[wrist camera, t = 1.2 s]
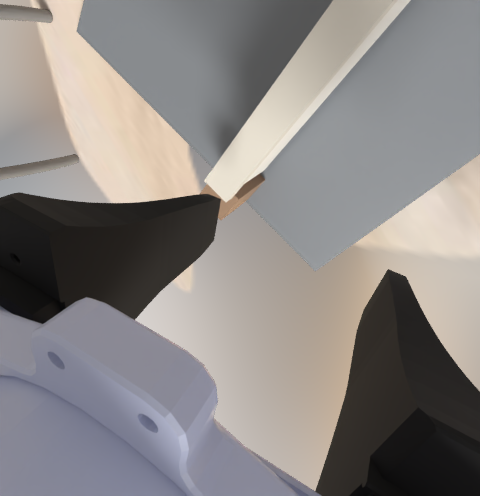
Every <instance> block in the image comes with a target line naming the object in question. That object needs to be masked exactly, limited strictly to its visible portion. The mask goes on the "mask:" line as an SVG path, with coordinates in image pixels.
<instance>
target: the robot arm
mask: <svg viewBox="0 0 480 496" xmlns="http://www.w3.org/2000/svg"><path fill="white" fill-rule="evenodd" d="M220 203H221V199H219V198H217V197H215V196H212V195H210V194H199V195H192V196H185V197H179V198H172V199H166V200H157V201H149V202H139V203H87V202H76V201H67V200H59V199H52V198H46V197H40V196H35V195H29V194H24V193H14V194H10V195H7V196H5V197H1V198H0V496H480V392H479V391H478V389H477V388H476V387H475V386H474V385H473V384H472V382H470V380H469V379H468V378H467V377H466V376H465V374H464V373H463V372H462V371H461V369H460V368H459V367H458V366H457V364H456V363H455V362H454V360H453V359H452V357H451V356H450V355H449V353H448V352H447V351H446V349H445V348H444V346H443V345H442V343H441V342H440V340H439V339H438V337H437V336H436V334H435V332H434V331H433V329H432V327H431V326H430V324H429V322H428V321H427V319H426V317H425V315H424V313H423V311H422V309H421V308H420V305H419V303H418V301H417V299H416V297H415V295H414V293H413V291H412V289H411V286H410V284H409V282H408V280H407V278H406V277H405V276H403V275H400V274H398V273H395V272H393V271H391V270H389V269H388V270H387V272H386V274H385V275H384V277H383V279H382V280H381V282H380V284H379V285H378V287H377V289H376V290H375V292H374V294H373V295H372V297H371V299H370V300H369V302H368V304H367V305H366V307H365V309H364V311H363V314H362V317H361V320H360V323H359V326H358V330H357V334H356V339H355V345H354V350H353V356H352V363H351V369H350V375H349V381H348V386H347V390H346V395H345V399H344V402H343V405H342V409H341V412H340V416H339V419H338V422H337V426H336V429H335V432H334V436H333V439H332V442H331V445H330V448H329V451H328V455H327V458H326V461H325V464H324V467H323V470H322V473H321V476H320V479H319V482H318V485H317V488H316V491H314V490H312V489H310V488H309V487H307V486H306V485H304V484H303V483H301V482H300V481H298V480H296V479H295V478H293V477H292V476H290V475H289V474H287V473H286V472H284V471H282V470H281V469H279V468H278V467H276V466H275V465H273V464H272V463H270V462H268V461H267V460H265V459H264V458H262V457H260V456H259V455H258V454H256V453H254V452H253V451H251V450H250V449H248V448H247V447H245V446H244V445H243V444H242V443H241V442H240V441H238V440H237V439H236V438H235V437H234V436H233V435H232V434H231V433H230V432H229V431H227V430H226V429H225V428H224V427H223V426H222V425H221V424H220V423H219V422H217V421H216V420H215V419H214V413H215V410H216V407H217V403H218V398H217V389H216V384H215V381H214V380H213V378H212V377H211V375H210V374H209V372H208V370H207V369H206V368H205V366H204V364H202V363H201V362H200V361H199V360H198V359H196V358H195V357H194V356H193V355H191V354H190V353H189V352H188V351H186V350H185V349H183V348H181V347H180V346H178V345H176V344H175V343H173V342H171V341H169V340H168V339H166V338H164V337H162V336H161V335H159V334H157V333H156V332H154V331H152V330H151V329H149V328H147V327H146V326H144V325H142V324H140V323H138V322H137V321H135V319H136V318H137V317H138V316H139V314H140V313H141V312H142V311H143V310H144V309H145V307H146V306H147V305H148V304H149V303H150V302H151V301H152V300H153V299H154V298H155V297H156V295H157V294H158V293H159V292H160V291H161V290H162V289H163V288H165V287H166V286H167V285H168V284H169V283H170V282H171V281H173V280H174V279H175V278H176V277H177V276H178V275H180V274H181V273H182V272H183V271H184V270H185V269H187V268H188V267H189V266H190V265H191V264H192V263H193V262H195V261H196V260H197V259H198V258H199V257H200V256H201V255H202V254H203V253H204V252H205V250H206V249H207V248H208V247H209V245H210V244H211V243H212V242H213V240H214V236H215V231H216V225H217V219H218V214H219V209H220Z"/></svg>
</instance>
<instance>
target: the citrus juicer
mask: <svg viewBox="0 0 480 496" xmlns="http://www.w3.org/2000/svg"><path fill="white" fill-rule="evenodd" d="M0 20H18V21H35V22H46V23H51V22H52V15H51V12H50V11H49V10H44V9H38V8H31V7H23V6H14V5H3V4H0ZM78 162H79V158H78V156H77V155H75V154H73V155H70V156H65V157H60V158H55V159H50V160H45V161H39V162H33V163H28V164H22V165H16V166H9V167H3V168H0V180H3V179H9V178H15V177H20V176H25V175H30V174H35V173H41V172H45V171H50V170H53V169H58V168H61V167H66V166H69V165H72V164H75V163H78Z"/></svg>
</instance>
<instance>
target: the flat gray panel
mask: <svg viewBox="0 0 480 496" xmlns="http://www.w3.org/2000/svg"><path fill="white" fill-rule="evenodd" d="M332 1H333V0H84V3H83V7H82V11H81V15H80V19H79V23H78V28H77V32H78V33H79V34H80V35H81V36H82V37H83V38H84V39H85V40H86V41H87V42H88V43H89V44H90V45H91V46H92V47H93V48H94V49H95V50H96V51H97V52H98V53H99V54H100V55H101V56H102V57H103V58H104V59H105V60H106V61H107V62H108V63H109V64H110V65H111V66H112V67H113V68H114V69H115V70H116V71H117V73H118V74H119V75H120V76H121V77H122V78H123V79H124V80H125V81H126V82H127V83H128V84H129V85H130V86H131V87H132V88H133V89H134V90H135V91H136V92H137V93H138V94H139V95H140V96H141V97H142V98H143V99H144V100H145V101H146V102H147V103H148V104H149V105H150V106H151V107H152V108H153V109H154V110H155V111H156V112H157V113H158V114H159V115H160V116H161V117H162V118H163V119H164V120H165V121H166V122H167V123H168V124H169V125H170V126H171V127H172V128H173V129H174V130H175V131H176V132H177V133H178V134H179V135H180V136H181V137H182V138H183V139H184V140H185V141H186V142H187V143H188V144H189V145H190V146H191V147H192V148H193V149H194V150H195V151H196V152H197V153H198V154H199V155H200V156H201V157H202V158H203V159H204V160H205V161H206V162H207V163H208V164H209V165H210V166H211V167H212V168H214V166H215V165H216V164H217V162H218V161H219V159H220V158H221V157H222V155H223V154H224V152H225V151H226V150H227V148H228V147H229V145H230V144H231V143H232V141H233V140H234V138H235V137H236V136H237V134H238V133H239V131H240V130H241V129H242V127H243V126H244V124H245V123H246V122H247V120H248V119H249V117H250V116H251V115H252V113H253V112H254V110H255V109H256V108H257V106H258V105H259V103H260V102H261V101H262V99H263V98H264V96H265V95H266V94H267V92H268V91H269V89H270V88H271V87H272V85H273V84H274V82H275V81H276V80H277V78H278V77H279V75H280V74H281V73H282V71H283V70H284V68H285V67H286V66H287V64H288V63H289V61H290V60H291V59H292V57H293V56H294V54H295V53H296V52H297V50H298V49H299V47H300V46H301V45H302V43H303V42H304V40H305V39H306V38H307V36H308V35H309V33H310V32H311V31H312V29H313V28H314V26H315V25H316V24H317V22H318V21H319V19H320V18H321V17H322V15H323V14H324V12H325V11H326V10H327V8H328V7H329V5H330V4H331V3H332ZM479 154H480V0H411V1H410V2H409V3H408V4H407V5H406V6H405V8H404V9H403V10H402V11H401V12H400V13H399V15H398V16H397V17H396V18H395V19H394V20H393V22H392V23H391V24H390V25H389V26H388V27H387V29H386V30H385V31H384V32H383V33H382V34H381V35H380V37H379V38H378V39H377V40H376V41H375V42H374V44H373V45H372V46H371V47H370V48H369V49H368V51H367V52H366V53H365V54H364V55H363V56H362V58H361V59H360V60H359V61H358V62H357V63H356V65H355V66H354V67H353V68H352V69H351V70H350V71H349V73H348V74H347V75H346V76H345V77H344V78H343V80H342V81H341V82H340V83H339V84H338V85H337V87H336V88H335V89H334V90H333V91H332V92H331V94H330V95H329V96H328V97H327V98H326V99H325V100H324V102H323V103H322V104H321V105H320V106H319V107H318V109H317V110H316V111H315V112H314V113H313V114H312V116H311V117H310V118H309V119H308V120H307V121H306V123H305V124H304V125H303V126H302V127H301V128H300V129H299V131H298V132H297V133H296V134H295V135H294V136H293V138H292V139H291V140H290V141H289V142H288V143H287V145H286V146H285V147H284V148H283V149H282V150H281V152H280V153H279V154H278V155H277V156H276V157H275V158H274V160H273V161H272V162H271V163H270V164H269V165H268V167H267V168H266V169H265V170H264V171H263V172H261V173H260V174H258V175H257V176H255V177H254V178H252V179H251V180H249V181H248V182H246V183H245V184H244V185H243V186H242V187H241V188H240V189H239V191H238V192H237V193H236V194H235V195H234V197H233V198H232V199H230V200H229V201H227V202H225V201H224V200H223V199H222V198H221V197H220V196H219V195H218V194H217V193H216V192H215V191H214V190H213V189H212V188H211V187H210V186H209V185H208V184H207V185H206V187H205V188H204V189H203V190H202V192H201V193H200V194H210V195H212V196H215V197H217V198H219V199H221V203H220V209H219V214H218V218H219V219H220V220H222V219H223V218H225V217H226V216H227V215H228V214H230V213H231V212H232V211H234V210H235V209H236V208H237V207H239V206H240V205H241V204H243V203H244V202H245V201H246V202H247V203H248V204H249V205H250V206H251V207H252V208H253V209H254V210H255V211H256V212H257V213H258V214H259V215H260V216H261V217H262V218H263V219H264V220H265V221H266V222H267V223H268V224H269V225H270V226H271V227H272V228H273V229H274V230H275V231H276V232H277V233H278V234H279V235H280V236H281V237H282V238H283V239H284V240H285V241H286V242H287V243H288V244H289V245H290V246H291V247H292V248H293V249H294V250H295V251H296V252H297V253H298V254H299V255H300V256H301V257H302V258H303V260H304V261H305V262H307V264H309V266H310V267H312V268H313V270H314V271H316V270H318V269H319V268H321V267H322V266H323V265H325V264H326V263H328V262H329V261H330V260H332V259H333V258H335V257H336V256H337V255H339V254H340V253H342V252H343V251H344V250H346V249H347V248H349V247H350V246H351V245H353V244H354V243H356V242H357V241H359V240H360V239H361V238H363V237H364V236H366V235H367V234H368V233H370V232H371V231H373V230H374V229H375V228H377V227H378V226H380V225H381V224H382V223H384V222H385V221H387V220H388V219H389V218H391V217H392V216H394V215H395V214H396V213H398V212H399V211H401V210H402V209H403V208H405V207H406V206H408V205H409V204H410V203H412V202H413V201H415V200H416V199H417V198H419V197H420V196H422V195H423V194H424V193H426V192H427V191H429V190H430V189H431V188H433V187H434V186H436V185H437V184H438V183H440V182H441V181H443V180H444V179H445V178H447V177H448V176H450V175H451V174H452V173H454V172H455V171H457V170H458V169H459V168H461V167H462V166H464V165H465V164H466V163H468V162H469V161H471V160H472V159H473V158H475V157H476V156H478V155H479Z"/></svg>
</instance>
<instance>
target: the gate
mask: <svg viewBox="0 0 480 496" xmlns="http://www.w3.org/2000/svg"><path fill="white" fill-rule="evenodd" d="M410 1H411V0H333V1H332V3H331V4H330V5H329V7H328V8H327V10H326V11H325V12H324V14H323V15H322V17H321V18H320V19H319V21H318V22H317V24H316V25H315V26H314V28H313V29H312V31H311V32H310V33H309V35H308V36H307V38H306V39H305V40H304V42H303V43H302V45H301V46H300V47H299V49H298V50H297V52H296V53H295V54H294V56H293V57H292V59H291V60H290V61H289V63H288V64H287V66H286V67H285V68H284V70H283V71H282V73H281V74H280V75H279V77H278V78H277V80H276V81H275V82H274V84H273V85H272V87H271V88H270V89H269V91H268V92H267V94H266V95H265V96H264V98H263V99H262V101H261V102H260V103H259V105H258V106H257V108H256V109H255V110H254V112H253V113H252V115H251V116H250V117H249V119H248V120H247V122H246V123H245V124H244V126H243V127H242V129H241V130H240V131H239V133H238V134H237V136H236V137H235V138H234V140H233V141H232V143H231V144H230V145H229V147H228V148H227V150H226V151H225V152H224V154H223V155H222V157H221V158H220V159H219V161H218V162H217V164H216V165H215V166H214V168H213V169H212V171H211V172H210V173H209V175H208V176H207V178H206V179H205V180H204V181H205V182H206V183H207V184H208V185H209V186H210V187H211V188H212V189H213V190H214V191H215V192H216V193H217V194H218V195H219V196H220V197H221V198H222V199H223V200H224V201H225V202H227V201H229V200H230V199H232V198H233V197H234V195H235V194H236V193H237V192H238V191H239V189H240V188H241V187H242V186H243V185H244V184H245V183H246V182H248V181H249V180H251V179H252V178H254V177H255V176H257V175H258V174H260V173H261V172H263V171H264V170H265V169H266V168H267V167H268V165H269V164H270V163H271V162H272V161H273V160H274V158H275V157H276V156H277V155H278V154H279V153H280V152H281V150H282V149H283V148H284V147H285V146H286V145H287V143H288V142H289V141H290V140H291V139H292V138H293V136H294V135H295V134H296V133H297V132H298V131H299V129H300V128H301V127H302V126H303V125H304V124H305V123H306V121H307V120H308V119H309V118H310V117H311V116H312V114H313V113H314V112H315V111H316V110H317V109H318V107H319V106H320V105H321V104H322V103H323V102H324V100H325V99H326V98H327V97H328V96H329V95H330V94H331V92H332V91H333V90H334V89H335V88H336V87H337V85H338V84H339V83H340V82H341V81H342V80H343V78H344V77H345V76H346V75H347V74H348V73H349V71H350V70H351V69H352V68H353V67H354V66H355V65H356V63H357V62H358V61H359V60H360V59H361V58H362V56H363V55H364V54H365V53H366V52H367V51H368V49H369V48H370V47H371V46H372V45H373V44H374V42H375V41H376V40H377V39H378V38H379V37H380V35H381V34H382V33H383V32H384V31H385V30H386V29H387V27H388V26H389V25H390V24H391V23H392V22H393V20H394V19H395V18H396V17H397V16H398V15H399V13H400V12H401V11H402V10H403V9H404V8H405V6H406V5H407V4H408V3H409V2H410Z"/></svg>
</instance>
